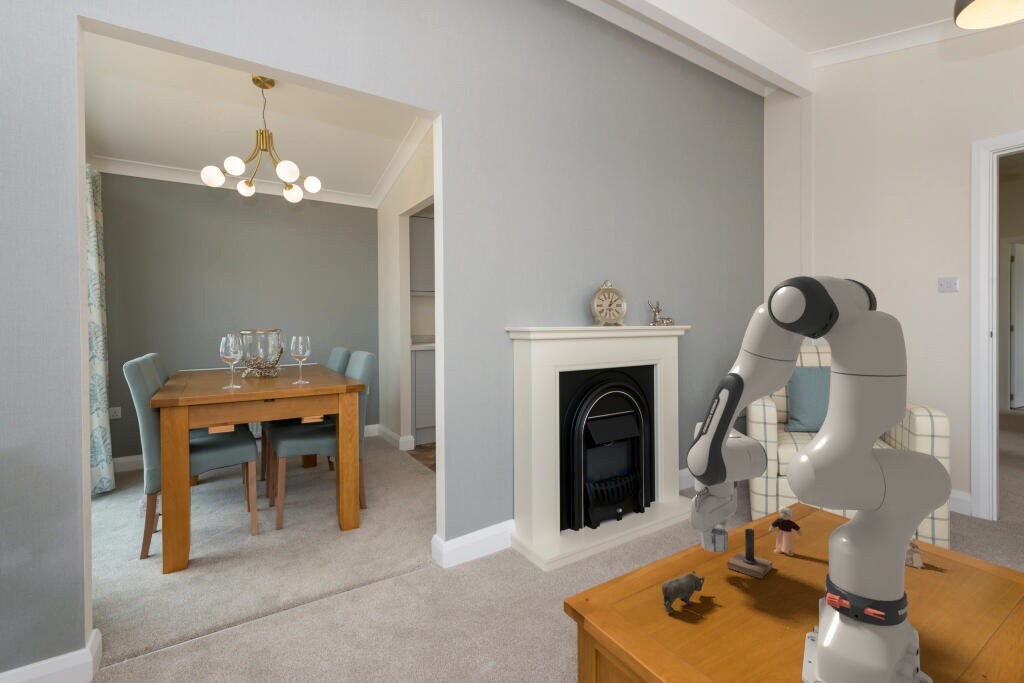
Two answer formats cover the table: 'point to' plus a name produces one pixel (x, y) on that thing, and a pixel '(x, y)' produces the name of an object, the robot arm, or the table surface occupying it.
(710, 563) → the table surface
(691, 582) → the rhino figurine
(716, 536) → the steel ring
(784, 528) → the grandmother figurine
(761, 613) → the table surface
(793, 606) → the table surface
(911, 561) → the mouse figurine
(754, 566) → the post block
